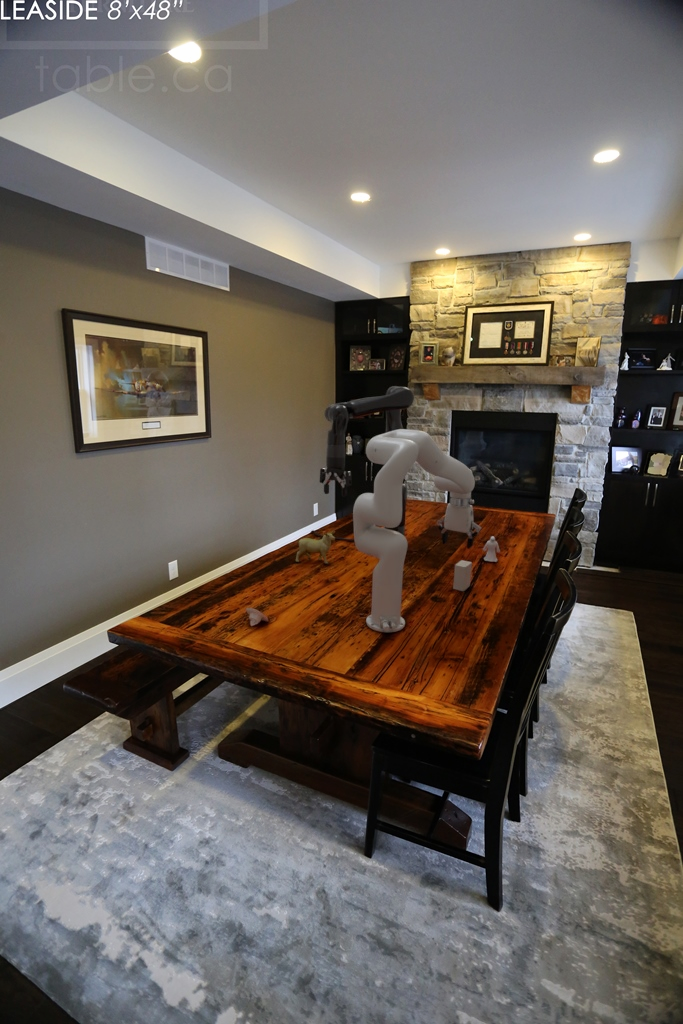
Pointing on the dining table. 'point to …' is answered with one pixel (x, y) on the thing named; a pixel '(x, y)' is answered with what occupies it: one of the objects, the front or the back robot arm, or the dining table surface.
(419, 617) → the dining table surface
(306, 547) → the toy
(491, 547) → the figurine
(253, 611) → the seashell
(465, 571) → the brick
